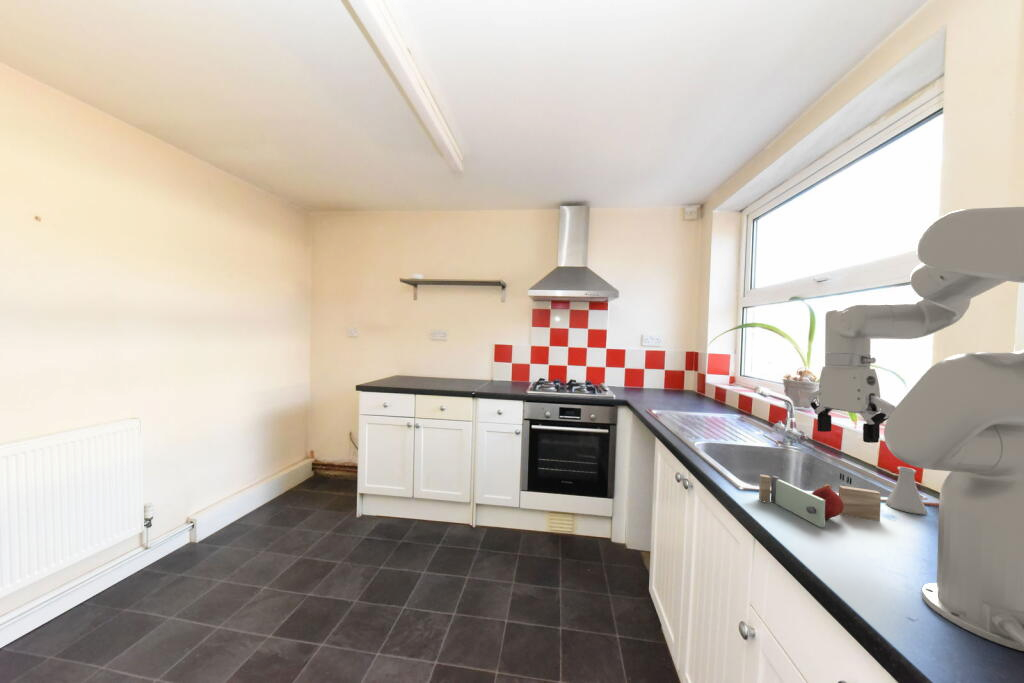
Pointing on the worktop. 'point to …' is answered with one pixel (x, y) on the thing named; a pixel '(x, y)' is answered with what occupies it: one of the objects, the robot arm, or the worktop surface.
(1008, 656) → the worktop surface
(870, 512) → the door frame
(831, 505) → the onion
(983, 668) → the worktop surface
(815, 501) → the door
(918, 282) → the robot arm
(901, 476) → the flask
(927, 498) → the worktop surface
